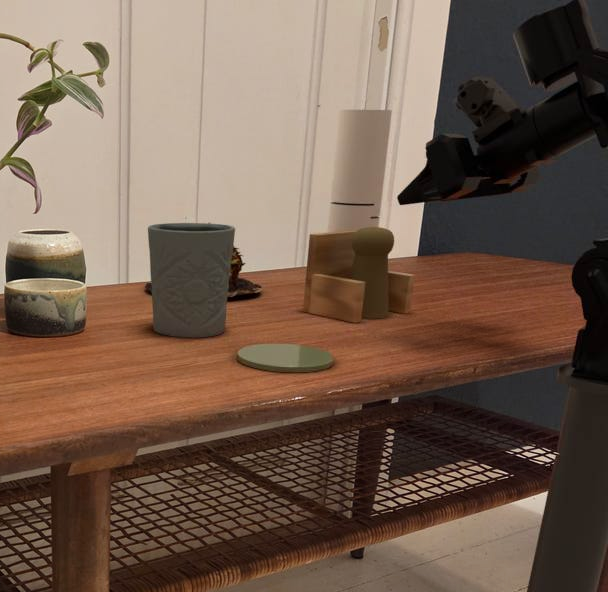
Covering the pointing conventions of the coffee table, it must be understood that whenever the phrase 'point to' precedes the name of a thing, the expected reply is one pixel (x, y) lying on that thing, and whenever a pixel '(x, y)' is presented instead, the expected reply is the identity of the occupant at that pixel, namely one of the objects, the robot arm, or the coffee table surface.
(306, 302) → the rack
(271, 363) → the coaster
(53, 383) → the coffee table surface
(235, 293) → the cactus
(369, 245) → the olive tapered shaker
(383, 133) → the cylindrical container
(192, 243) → the grey embossed cup
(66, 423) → the coffee table surface
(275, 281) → the coffee table surface
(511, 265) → the coffee table surface
